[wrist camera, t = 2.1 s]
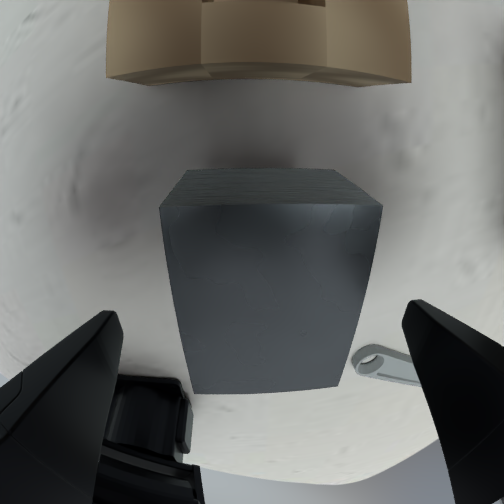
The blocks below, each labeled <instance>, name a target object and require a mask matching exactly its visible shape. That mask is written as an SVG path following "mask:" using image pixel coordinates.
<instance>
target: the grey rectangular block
mask: <svg viewBox="0 0 504 504" xmlns="http://www.w3.org/2000/svg"><path fill="white" fill-rule="evenodd" d="M382 208H383V205H381V204H380V203H379V202H378V201H376V200H375V199H374V198H372V197H371V196H370V195H368V194H367V193H366V192H364V191H363V190H362V189H360V188H359V187H358V186H356V185H355V184H354V183H352V182H351V181H349V180H348V179H347V178H345V177H344V176H342V175H341V174H339V173H338V172H337V171H335V170H330V169H302V168H231V169H203V170H187V171H186V173H185V174H184V175H183V177H182V178H181V179H180V180H179V182H178V183H177V184H176V186H175V187H174V188H173V190H172V191H171V192H170V193H169V195H168V196H167V197H166V199H165V200H164V202H163V203H162V204H161V206H160V207H159V210H160V218H161V226H162V234H163V241H164V248H165V255H166V261H167V267H168V273H169V279H170V285H171V291H172V296H173V302H174V307H175V312H176V317H177V322H178V327H179V332H180V337H181V341H182V346H183V350H184V355H185V359H186V363H187V367H188V371H189V376H190V380H191V384H192V387H193V391H194V394H257V393H276V392H290V391H301V390H311V389H320V388H328V387H336V386H338V384H339V381H340V378H341V375H342V373H343V370H344V367H345V363H346V360H347V357H348V354H349V351H350V348H351V344H352V341H353V338H354V334H355V331H356V327H357V324H358V320H359V317H360V313H361V309H362V305H363V301H364V297H365V293H366V289H367V285H368V281H369V276H370V272H371V267H372V263H373V258H374V253H375V248H376V243H377V238H378V232H379V227H380V221H381V215H382Z"/></svg>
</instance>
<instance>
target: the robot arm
mask: <svg viewBox="0 0 504 504" xmlns="http://www.w3.org/2000/svg"><path fill="white" fill-rule="evenodd" d="M402 329H403V332H404V335H405V338H406V342H407V345H408V348H409V352H410V355H411V359H412V362H413V365H414V368H415V371H416V373H417V376H418V379H419V381H420V384H421V387H422V389H423V392H424V395H425V398H426V400H427V403H428V406H429V409H430V412H431V415H432V418H433V421H434V424H435V427H436V430H437V433H438V437H439V440H440V443H441V447H442V450H443V454H444V457H445V461H446V465H447V468H448V473H449V477H450V481H451V486H452V490H453V494H454V499H455V504H492V503H494V502H496V501H498V500H500V503H501V504H504V346H501V345H500V344H499V343H497V342H495V341H493V340H492V339H490V338H488V337H487V336H485V335H483V334H482V333H480V332H478V331H476V330H475V329H473V328H471V327H470V326H468V325H466V324H464V323H463V322H461V321H459V320H457V319H456V318H454V317H452V316H450V315H448V314H447V313H445V312H443V311H441V310H440V309H438V308H436V307H434V306H432V305H431V304H429V303H427V302H425V301H423V300H421V299H418V300H411V301H410V302H409V303H408V305H407V308H406V311H405V314H404V316H403V319H402ZM122 344H123V330H122V327H121V324H120V321H119V318H118V315H117V313H116V312H115V311H108V310H103V311H101V312H100V313H98V314H97V315H96V316H94V317H93V318H92V319H90V320H89V321H87V322H86V323H85V324H83V325H82V326H81V327H79V328H78V329H76V330H75V331H74V332H72V333H71V334H70V335H68V336H67V337H66V338H64V339H63V340H62V341H60V342H59V343H58V344H56V345H55V346H54V347H52V348H51V349H50V350H48V351H47V352H46V353H44V354H43V355H42V356H41V357H39V358H38V359H37V360H35V361H34V362H33V363H31V364H30V365H29V366H28V367H26V368H25V369H24V370H23V372H22V371H21V372H20V373H19V374H17V375H16V376H15V377H14V378H12V379H11V380H10V381H8V382H7V383H6V384H5V385H3V386H2V387H0V504H205V501H204V494H203V488H202V481H201V473H200V466H198V465H193V464H192V465H189V464H184V463H182V462H183V454H188V453H189V452H190V448H191V436H192V425H193V412H192V409H191V406H190V402H189V400H188V399H187V398H185V396H184V393H183V390H182V386H181V383H180V382H179V381H177V380H172V379H155V378H142V377H131V376H122V375H117V374H118V368H119V361H120V355H121V349H122ZM98 461H99V462H98Z"/></svg>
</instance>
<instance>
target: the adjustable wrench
mask: <svg viewBox="0 0 504 504" xmlns="http://www.w3.org/2000/svg"><path fill="white" fill-rule="evenodd" d="M375 355H377V357H376V358H375V359H374V360H373V361H371V362H369V363H366V364H360V363H361V362H362V361H364V360H365V359H367V358H368V357H371V356H375ZM352 363H353V366H354V369H355V371H356V373H357V374H359V375H361V376H366V377H370V378H375V379H380V380H385V381H390V382H396V383H401V384H407V385H412V386H418V387H421V384H420V381H419V379H418V376H417V373H416V371H415V368H414V365H413V362H412V359H411V356H409V355H406V354H403V353H400V352H397V351H394V350H391V349H388V348H385V347H383V346H380V345H375V344H373V345H368V346H365V347H363V348H361V349H360V350H358V351H357V352H356V353H355V355H354V356H353V358H352Z"/></svg>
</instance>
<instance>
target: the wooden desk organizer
mask: <svg viewBox="0 0 504 504" xmlns="http://www.w3.org/2000/svg"><path fill="white" fill-rule="evenodd" d="M106 78H110V79H116V80H122V81H127V82H132V83H137V84H142V85H147V86H153V85H160V84H169V83H178V82H189V81H202V80H220V79H279V80H298V81H311V82H321V83H331V84H339V85H346V86H353V87H364V86H373V85H385V84H399V83H411V41H410V25H409V14H408V4H407V0H110V1H109V12H108V25H107V45H106Z"/></svg>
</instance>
